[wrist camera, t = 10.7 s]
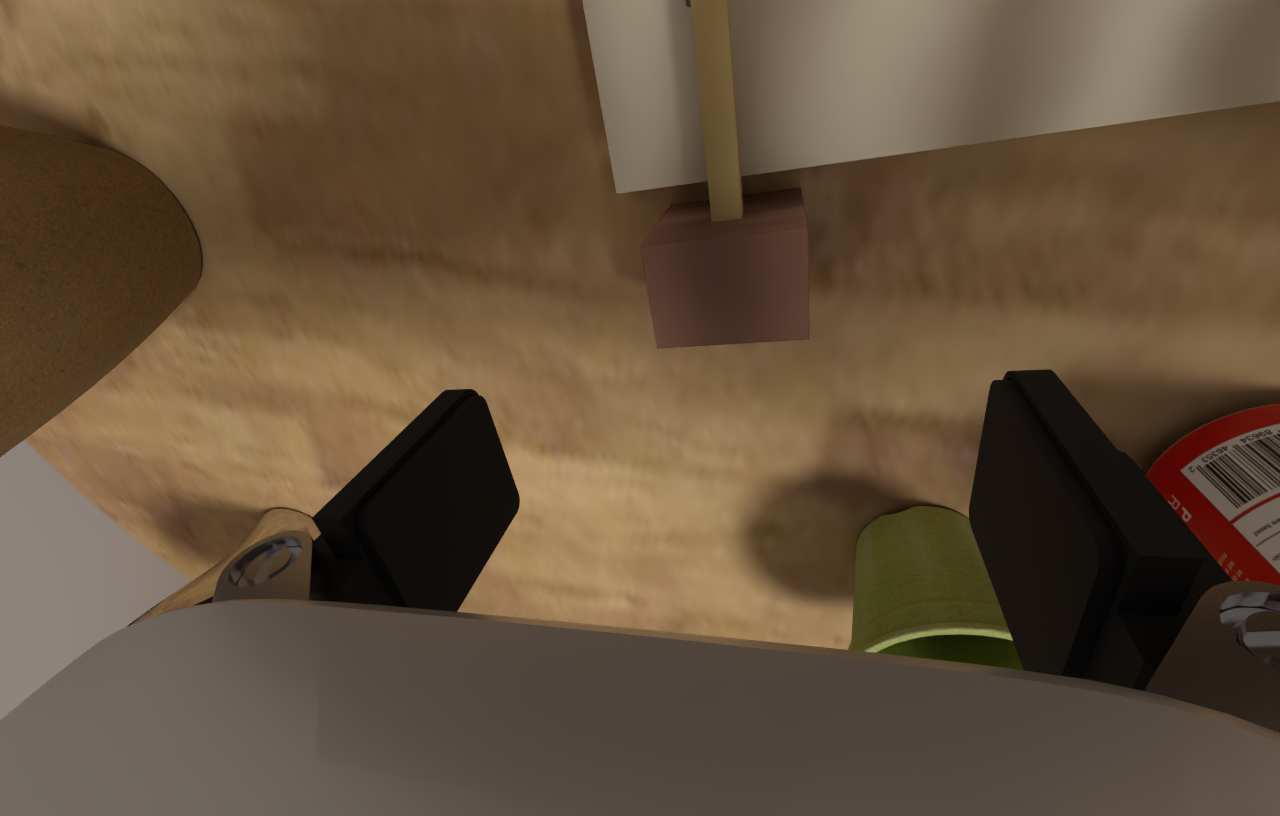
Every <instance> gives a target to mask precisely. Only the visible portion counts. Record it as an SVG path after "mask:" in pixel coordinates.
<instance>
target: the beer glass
mask: <svg viewBox="0 0 1280 816" xmlns="http://www.w3.org/2000/svg"><path fill="white" fill-rule="evenodd" d="M292 530H299V531H305V532H306V533H308V534H309V535H311V537H312V539H313V540H315V539H316V538H317V537H318V536H319V535H320V534H321V533H320V531H319V530H318V528H317V526H316V525H315V523H314V521H313V520H312V518H311V517H309V516H307V515H305V514H303V513H300V512H298V511H295V510H291V509H282V508H279V509H273V510H270V511H268V512H266V513H265V514H264V515H263V516H262V517H261V518H260V519H259V521H258V522H257V523H256V525H255V526H254V527H253V529H252V530H251V531H250V532H249V534H248V535H247V536H246V538H245V539H244V540H243V541H242V542H241V543H240V544H239V545H238V546H237V547H236V548H235V549H234V550H233V551H232V552H231V553H230V554H229V555H228V556H226V557H225V558H224V559H223V560H222V561H220V562H219V563H218V564H216V565H215V566H213V567H212V568H211V569H209V570H208V571H206V572H205V573H203V574H202V575H200V576H199V577H197V578H196V579H194V580H193V581H191V582H190V583H188V584H187V585H185V586H184V587H182V588H180V589H179V590H177V591H176V592H175V593H173V594H171V595H170V596H168V597H167V598H166V599H164V600H163V601H161V602H159V603H158V604H157V605H155V606H154V607H152V608H151V609H150V610H148V611H147V612H145V613H144V614H143V615H141V616H140V617H138V618H137V619H136V620H134V621H133V622H132V623H130V624H129V625H128V626H130V625H133V624H135V623H138V622H140V621H143V620H145V619H148V618H151V617H154V616H157V615H160V614H163V613H167V612H171V611H175V610H179V609H183V608H186V607H190V606H193V605H195V604H197V603H199V602H202V601H204V600H206V599H208V598H210V597H213V596H214V592H215V589H216V585H217V581H218V579H219V577H220V575H221V572H222V570H223V569H224V568H225V567H226V566H227V565H228V564H229V562H230V561H231V560H232V559H233V558H235V557H236V556H237V555H238V554H239V553H241V552H242V551H243V550H245V549H246V548H248V547H250V546H251V545H253V544H254V543H256V542H258V541H260V540H262V539H264V538H267V537H269V536H271V535H274V534H278V533H281V532H284V531H292ZM128 626H127V627H128Z"/></svg>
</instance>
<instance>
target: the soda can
mask: <svg viewBox="0 0 1280 816" xmlns="http://www.w3.org/2000/svg"><path fill="white" fill-rule="evenodd" d="M1146 477H1147V478H1148V479H1149V480H1150V481H1151V483H1152V484H1153V485H1154V486H1155V487H1156V489H1157V490H1158V491H1159V492H1160V493H1161V495H1162V496H1163V497H1164V498H1165V499H1166V501H1167V502H1168V503H1169V504H1170V505H1171V507H1172V508H1173V509H1174V510H1175V512H1176V513H1177V514H1178V515H1179V516H1180V518H1181V519H1182V520H1183V521H1184V522H1185V524H1186V525H1187V526H1188V527H1189V528H1190V530H1191V531H1192V532H1193V533H1194V534H1195V536H1196V537H1197V538H1198V539H1199V540H1200V542H1201V543H1202V544H1203V545H1204V546H1205V548H1206V549H1207V550H1208V551H1209V553H1210V554H1211V555H1212V556H1213V557H1214V559H1215V560H1216V561H1217V562H1218V563H1219V565H1220V566H1221V567H1222V568H1223V569H1224V571H1225V572H1226V573H1227V574H1228V575H1229V577H1230V578H1231V579H1232V580H1233V581H1259V582H1265V583H1270V584H1276V585H1280V403H1277V404H1269V405H1263V406H1258V407H1253V408H1249V409H1245V410H1242V411H1238V412H1235V413H1232V414H1229V415H1226V416H1223V417H1221V418H1218V419H1216V420H1213V421H1211V422H1209V423H1207V424H1205V425H1203V426H1201V427H1199V428H1197V429H1195V430H1193V431H1192V432H1190V433H1188V434H1187V435H1185V436H1184V437H1182V438H1181V439H1179V440H1178V441H1176V442H1175V443H1174V444H1173V445H1171V446H1170V447H1169V448H1168V449H1167V450H1166V451H1165V452H1163V453H1162V454H1161V455H1160V457H1159V458H1158V459H1157V460H1156V461H1155V462H1154V464H1153V465H1152V466H1151V468H1150V469H1149V471H1148V472H1147V474H1146Z"/></svg>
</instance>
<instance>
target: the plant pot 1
mask: <svg viewBox="0 0 1280 816" xmlns="http://www.w3.org/2000/svg"><path fill="white" fill-rule="evenodd" d="M201 268H202V263H201V252H200V247H199V242H198V239H197V236H196V234H195V232H194V229H193V227H192V225H191V223H190V221H189V219H188V217H187V215H186V214H185V212H184V210H183V209H182V207H181V206H180V204H179V203H178V202H177V200H176V199H175V198H174V196H173V195H172V194H171V193H170V192H169V191H168V189H167V188H166V187H165V186H164V185H163V184H162V183H161V182H160V181H159V180H158V179H157V178H156V177H155V176H154V175H152V174H151V173H150V172H149V171H148V170H146V169H145V168H144V167H143V166H141V165H139V164H138V163H136V162H135V161H133V160H132V159H130V158H128V157H126V156H124V155H121V154H119V153H117V152H115V151H111V150H108V149H104V148H100V147H96V146H92V145H88V144H84V143H79V142H75V141H71V140H67V139H62V138H58V137H53V136H49V135H44V134H39V133H34V132H29V131H25V130H20V129H15V128H10V127H5V126H0V457H1V456H2V455H4V454H5V453H6V452H8V451H9V450H10V449H12V448H13V447H15V446H16V445H17V444H19V443H20V442H22V441H23V440H24V439H26V438H27V437H28V436H30V435H31V434H32V433H34V432H35V431H36V430H38V429H39V428H40V427H42V426H43V425H44V424H45V423H47V422H48V421H49V420H51V419H52V418H53V417H55V416H56V415H57V414H58V413H60V412H61V411H62V410H64V409H65V408H66V407H67V406H69V405H70V404H71V403H72V402H74V401H75V400H76V399H77V398H79V397H80V396H81V395H82V394H84V393H85V392H86V391H87V390H89V389H90V388H91V387H92V386H93V385H95V384H96V383H97V382H98V381H99V380H101V379H102V378H103V377H104V376H105V375H106V374H108V373H109V372H110V371H111V370H112V369H113V368H115V367H116V366H117V365H118V364H119V363H120V362H121V361H122V360H124V359H125V358H126V357H127V356H128V355H129V354H130V353H131V352H132V351H133V350H134V349H135V348H137V347H138V346H139V345H140V344H141V343H142V342H143V341H144V340H145V339H146V338H147V337H148V336H149V335H150V334H151V333H152V332H153V331H154V330H155V329H156V328H157V327H158V326H159V325H160V324H161V323H162V322H163V321H164V320H165V319H166V318H167V317H168V316H169V315H170V314H171V313H172V312H173V310H174V309H175V308H176V307H177V306H178V305H179V304H180V303H181V302H182V301H183V300H184V298H185V297H186V296H187V295H188V294H189V293H190V292H191V291H192V290H193V289H194V287H195V286H196V284H197V282H198V281H199V277H200V274H201Z"/></svg>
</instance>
